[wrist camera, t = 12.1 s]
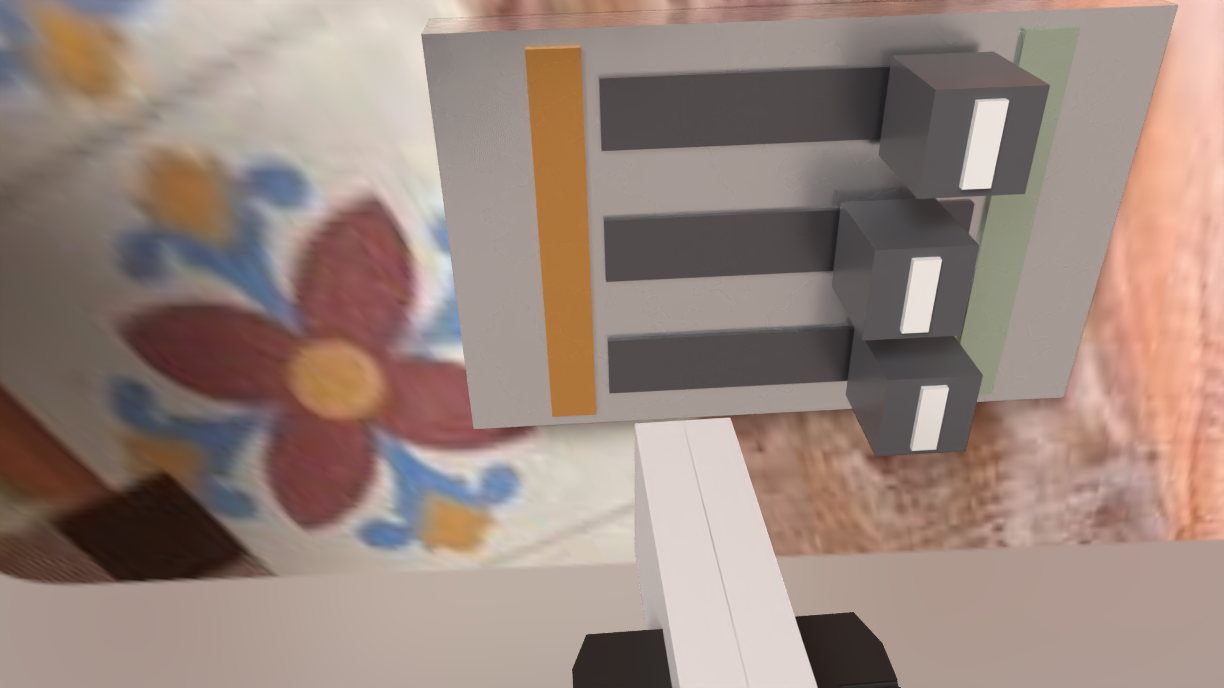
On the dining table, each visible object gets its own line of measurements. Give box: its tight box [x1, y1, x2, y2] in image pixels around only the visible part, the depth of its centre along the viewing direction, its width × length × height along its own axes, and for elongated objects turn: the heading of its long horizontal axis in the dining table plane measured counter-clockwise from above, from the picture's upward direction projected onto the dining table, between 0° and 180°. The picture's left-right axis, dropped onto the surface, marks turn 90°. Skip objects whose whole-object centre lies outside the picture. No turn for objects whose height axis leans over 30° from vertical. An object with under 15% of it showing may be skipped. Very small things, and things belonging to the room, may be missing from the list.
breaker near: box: [878, 52, 1050, 199], centre depth 25 cm, size 3×3×4 cm
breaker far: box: [846, 329, 983, 456], centre depth 30 cm, size 3×3×4 cm
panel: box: [421, 0, 1178, 429], centre depth 30 cm, size 22×14×2 cm, turn 92°
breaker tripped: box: [832, 198, 979, 341], centre depth 28 cm, size 3×3×4 cm
